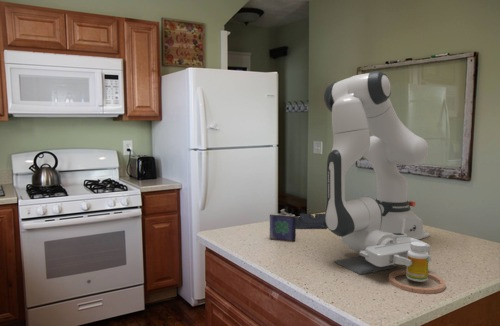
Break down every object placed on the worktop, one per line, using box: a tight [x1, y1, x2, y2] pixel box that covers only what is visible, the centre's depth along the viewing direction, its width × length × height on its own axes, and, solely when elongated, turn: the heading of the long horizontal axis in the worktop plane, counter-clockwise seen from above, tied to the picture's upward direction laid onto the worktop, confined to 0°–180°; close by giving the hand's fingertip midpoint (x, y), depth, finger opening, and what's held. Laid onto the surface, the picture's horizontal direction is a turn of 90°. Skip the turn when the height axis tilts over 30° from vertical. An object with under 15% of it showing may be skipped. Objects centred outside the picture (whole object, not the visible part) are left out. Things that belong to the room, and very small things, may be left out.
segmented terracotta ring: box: [388, 269, 447, 295], centre depth 110 cm, size 14×14×1 cm
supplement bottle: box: [406, 242, 429, 283], centre depth 110 cm, size 5×5×10 cm
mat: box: [333, 255, 397, 276], centre depth 124 cm, size 14×12×1 cm
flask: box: [269, 208, 297, 243], centre depth 150 cm, size 10×3×12 cm, turn 71°
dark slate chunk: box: [295, 212, 328, 230], centre depth 173 cm, size 15×22×5 cm
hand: (420, 261), depth 109 cm, fingers closed on supplement bottle, 5 cm apart
